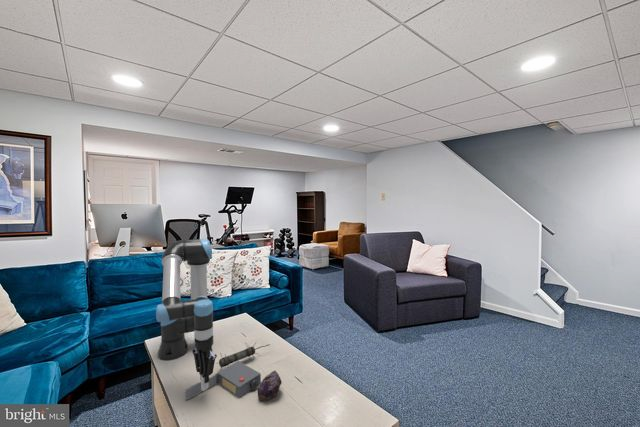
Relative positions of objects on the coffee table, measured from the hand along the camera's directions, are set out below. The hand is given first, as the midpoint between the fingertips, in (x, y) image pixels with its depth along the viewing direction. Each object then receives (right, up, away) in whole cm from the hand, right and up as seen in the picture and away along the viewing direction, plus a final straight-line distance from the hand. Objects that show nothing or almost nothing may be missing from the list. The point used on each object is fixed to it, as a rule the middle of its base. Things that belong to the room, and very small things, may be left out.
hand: (204, 388), depth 122 cm
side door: (-3, -3, +3) cm, 5 cm away
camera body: (+12, -3, +9) cm, 16 cm away
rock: (+29, -4, +1) cm, 29 cm away
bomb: (+10, -3, +27) cm, 29 cm away
